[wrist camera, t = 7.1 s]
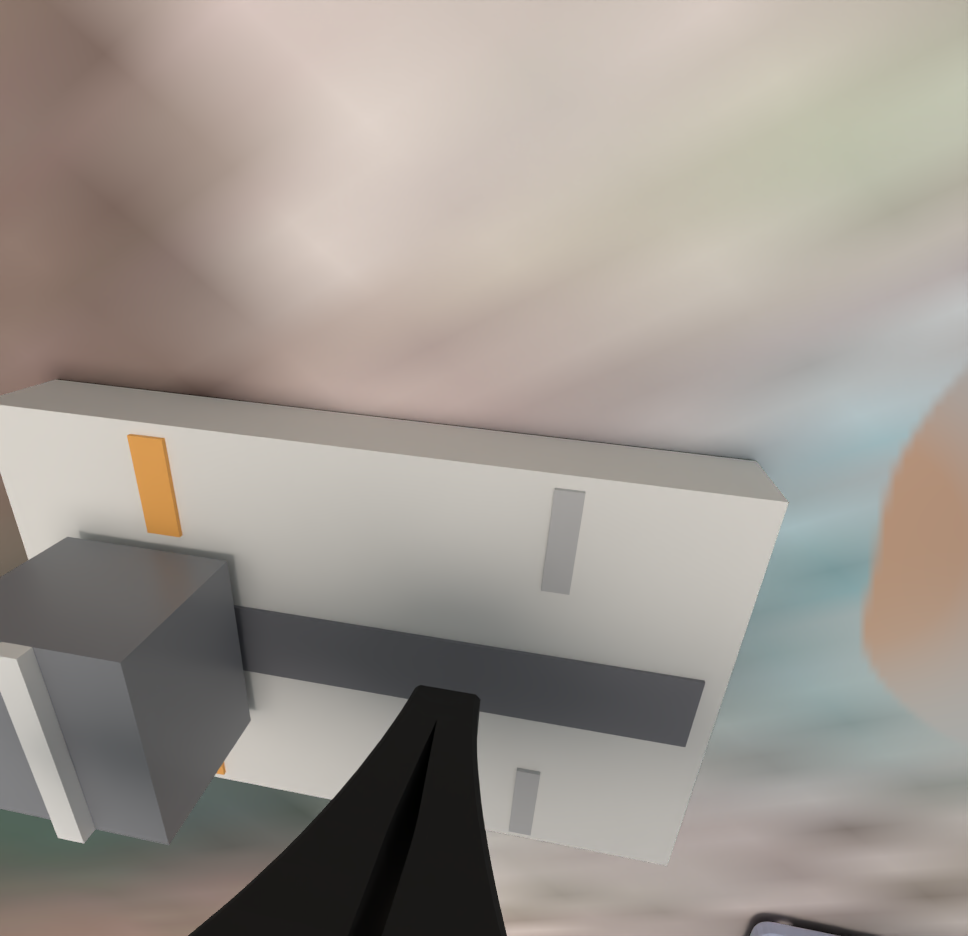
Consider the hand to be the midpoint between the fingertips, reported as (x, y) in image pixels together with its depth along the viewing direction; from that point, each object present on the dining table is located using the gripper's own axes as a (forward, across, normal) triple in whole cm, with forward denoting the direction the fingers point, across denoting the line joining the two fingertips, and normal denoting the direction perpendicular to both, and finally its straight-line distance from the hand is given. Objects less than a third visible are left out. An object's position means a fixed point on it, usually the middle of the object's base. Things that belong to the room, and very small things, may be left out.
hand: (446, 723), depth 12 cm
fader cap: (+1, +7, 0) cm, 7 cm away
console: (+3, +2, 0) cm, 4 cm away
